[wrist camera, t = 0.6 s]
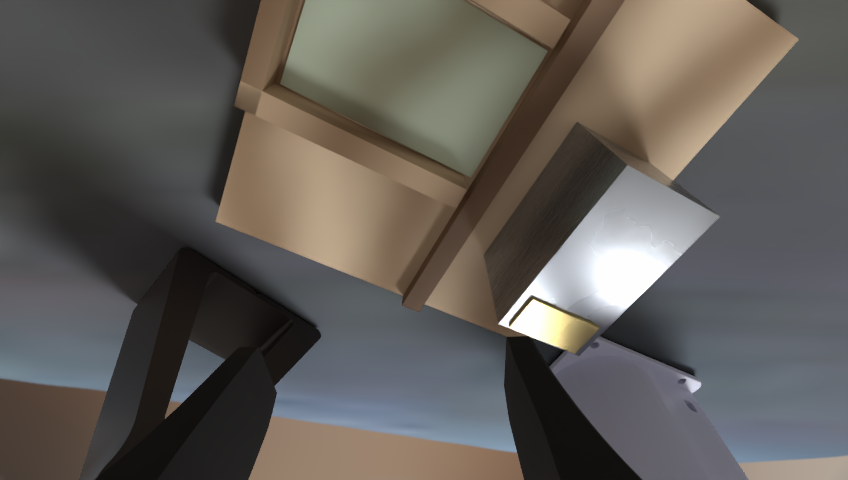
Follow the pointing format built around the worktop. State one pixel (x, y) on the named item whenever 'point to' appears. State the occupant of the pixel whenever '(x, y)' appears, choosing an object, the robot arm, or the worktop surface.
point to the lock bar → (588, 241)
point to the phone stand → (166, 343)
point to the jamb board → (464, 120)
